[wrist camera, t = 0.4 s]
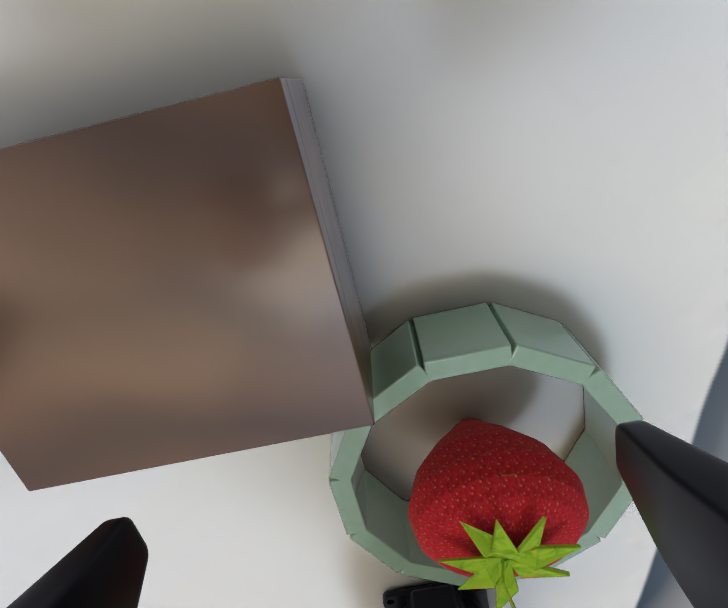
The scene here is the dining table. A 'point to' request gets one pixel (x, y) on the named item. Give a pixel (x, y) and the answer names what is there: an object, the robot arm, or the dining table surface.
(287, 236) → the shelf
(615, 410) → the holder
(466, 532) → the strawberry
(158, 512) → the dining table surface
